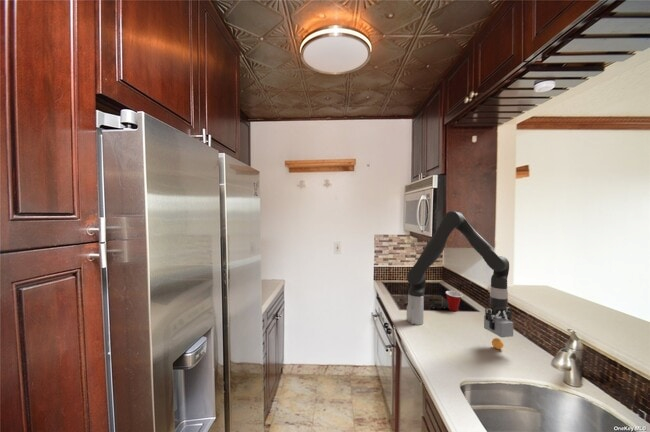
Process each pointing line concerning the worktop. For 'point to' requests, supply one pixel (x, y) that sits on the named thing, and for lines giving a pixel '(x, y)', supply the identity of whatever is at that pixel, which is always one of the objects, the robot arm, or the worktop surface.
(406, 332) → the worktop surface
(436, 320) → the worktop surface
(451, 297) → the plastic cup
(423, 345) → the worktop surface
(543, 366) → the worktop surface
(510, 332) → the grey rectangular brick
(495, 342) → the ball
